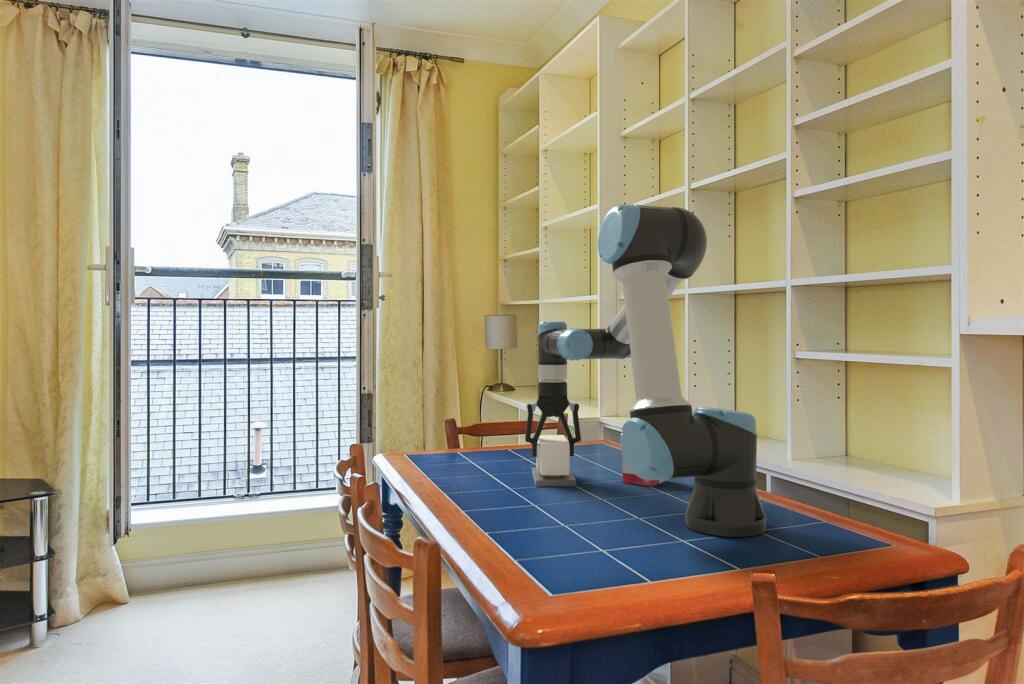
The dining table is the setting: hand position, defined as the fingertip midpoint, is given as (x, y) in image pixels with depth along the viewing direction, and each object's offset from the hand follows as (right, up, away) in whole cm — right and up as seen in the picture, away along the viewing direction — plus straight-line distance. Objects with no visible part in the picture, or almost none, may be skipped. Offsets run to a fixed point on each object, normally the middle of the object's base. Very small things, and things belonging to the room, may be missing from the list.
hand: (553, 468), depth 177 cm
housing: (0, 0, 0) cm, 0 cm away
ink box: (+23, -3, -3) cm, 24 cm away
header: (0, -3, 0) cm, 3 cm away
